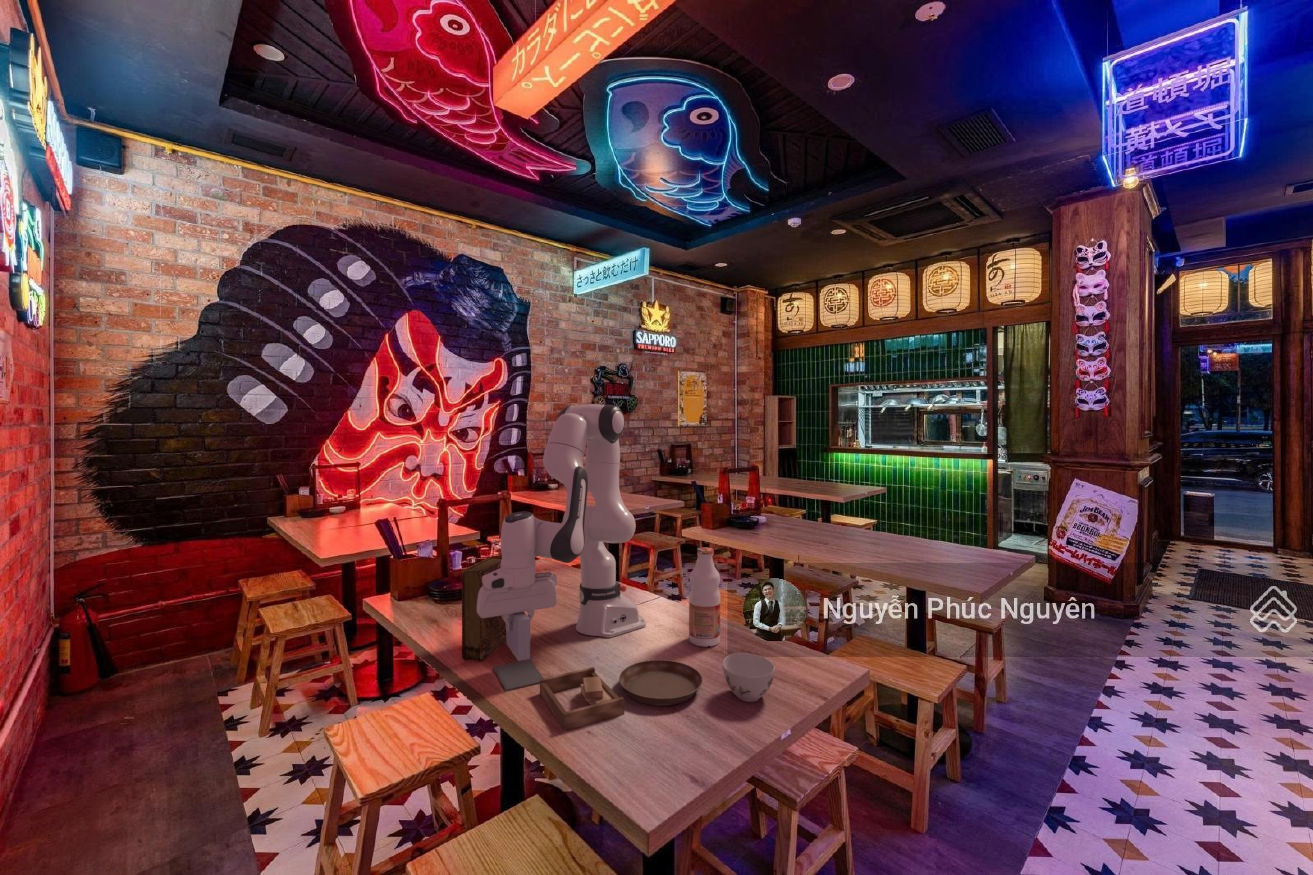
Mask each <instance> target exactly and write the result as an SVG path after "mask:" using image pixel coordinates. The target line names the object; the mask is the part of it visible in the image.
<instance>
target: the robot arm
mask: <svg viewBox="0 0 1313 875" xmlns="http://www.w3.org/2000/svg"><path fill="white" fill-rule="evenodd" d="M625 421H626V420H625V414H624V412H623V411H622V409H621V408H620V407H619V406H616V405H614V404H613V405H612V404H599V403H590V404H581V405H567V406H564V407H563V408H561V409H560V411H559V413H558V414H557V418H556V421H555V423H554V424H553V427H552V429H551V431H550V434H549V437H548V440H547V442H546V446H545V449H544V453H543V459H542V462H543V467H544V469H545V471H546V472H547V474H548V475H549V476H550V477H552V478H553V479H555V480H556V481H558V482H560V483H561V484H563V486H564V487H565V488H566V495H567V496H566V504H565V513H564V514H563V517H562V522H561V523H560V522H553V521H547V520H543V519H539V518H537V517H536V516H534V514H533V513H532V512H531V511H524V510H523V511H517V512H512V513H509V514H507V515H506V516H505V517H504V518H503V520H502V525H501V530H500V552H501V557H502V560H501V567H500V569H498V570H495V571H493V572H491V573H488V574H486V575H484V576H483V577H482V584H483V586H482V587H481V588H480V590H479V593H478V599H477V613H478V615H479V616H480V617H481V618H489V617H495V616H501V617H502V619H503V620H504V622H505V623H506V631H511V630H513V628H512V627H513V623H512V622H508V621H507V619H506V618H509V614H514V613H520V612H524V613H525V612H526V613H527V616H528V617H529V618H530V622H531V621H532V619H533V617H534V616H535V611H537V610H538V611H539V610H544V609H545V610H546V609H550V608H555V607H556V605H557V603H558V598H557V597H558V595H557V589H556V588H557V587H556V586H557V584H558V583H557V582H558V578H557V575H556V574H555V573H553V572H552V571H546V572H537V573H536V569H537V568H536V564H537V563H536V559H535V558H536V557H539V558H544V559H551V560H555V561H558V562H562V563H565V564H570V563H572V562H573V561H575V560H577V559H578V557H579V561H580V584H579V594H578V597H579V598H578V599H579V602H580V603H579V610H578V611H579V612H578V617H577V621H576V626H575V630H576V632H578V633H580V634H582V635H587V636H594V637H595V636H596V637H601V638H608V639H609V638H614V637H616V636H619V635H623V634H625V633H628V632H629V633H630V632H632V631H635V630H636V631H637V630H639V629H642V628H646V624H647V623H646V620H645V619H644V618H643V616H641V615H639V609H638V607H637V605H636V603H635V602H633V601H632V599H630V598H628V597H627V596H625V595H624V594H623V593H625V592H626V591H627V590H628V589H627V586H626V585H625V584H622V583H619V582H618V581H616V580H617V579H616V577H617V576H616V575H617V570H616V568H617V566H616V565H617V562H616V559H615V556H614V555H613V554H612V553H611V552H609V551H608V549H607V548H606V546H605V543H609V544H622V543H627V542H629V541H630V540H631V539H632V537H633V536H634V535H635V532H636V527H637V526H636V519H635V517H634V515H633V514H632V513H631V512H630V510H629V509H628V508H627V506H626V505H625V503H624V501H623V498H622V495H621V491H620V467H621V466H620V465H621V464H620V463H621V460H620V459H621V449H620V437H621V435H622V434H623V431H624V430H625V424H626V422H625ZM586 447H587V448H586ZM585 452H586V454H585ZM584 456H585V461H584ZM583 462H585V464H584V463H583ZM588 492H589V493H590V494H591V496H592V498H593V500H594V502H595V505H589V504H587V503H588V502H587V500H588Z"/></svg>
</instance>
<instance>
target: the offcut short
mask: <svg viewBox="0 0 1313 875" xmlns="http://www.w3.org/2000/svg"><path fill="white" fill-rule="evenodd" d="M600 678H601V676H599V675H598V677H587V678H583V687H584V694H585V697H584V700H585V701H587V702H588V700H598V699H603V689H602V684H601V679H602V678H601V679H600Z"/></svg>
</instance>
